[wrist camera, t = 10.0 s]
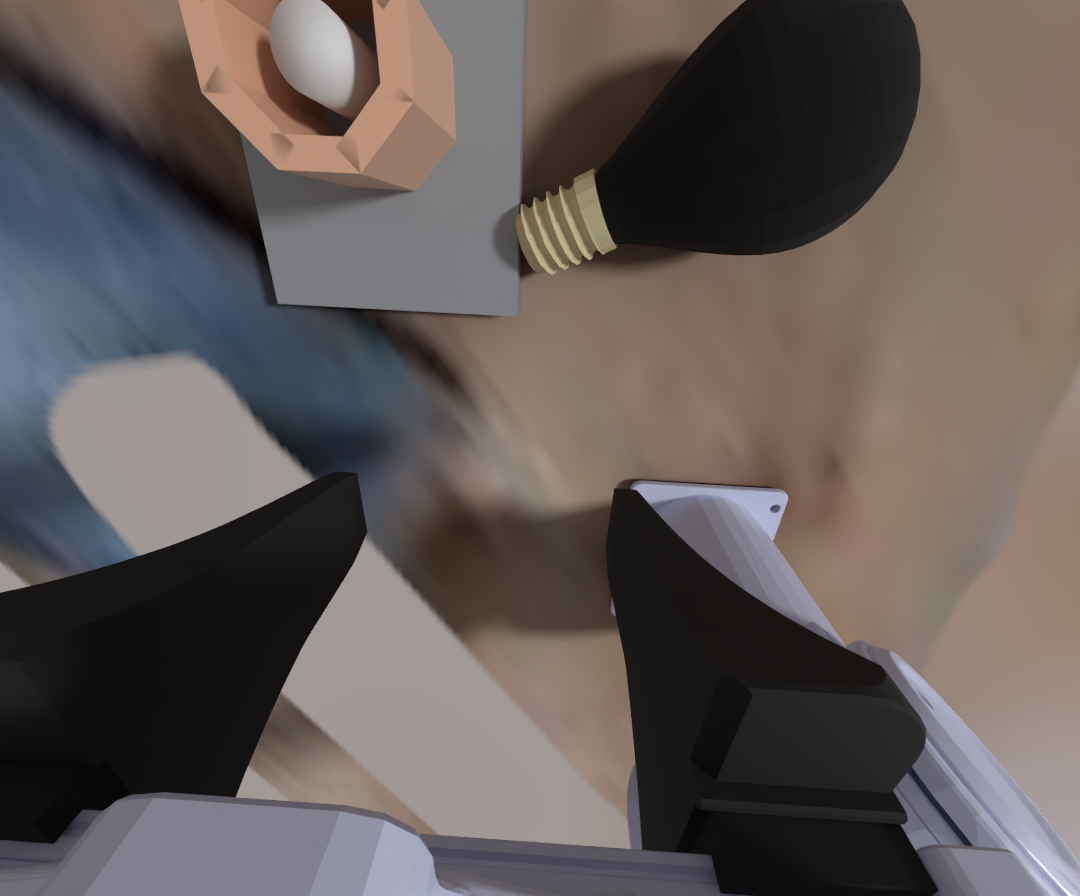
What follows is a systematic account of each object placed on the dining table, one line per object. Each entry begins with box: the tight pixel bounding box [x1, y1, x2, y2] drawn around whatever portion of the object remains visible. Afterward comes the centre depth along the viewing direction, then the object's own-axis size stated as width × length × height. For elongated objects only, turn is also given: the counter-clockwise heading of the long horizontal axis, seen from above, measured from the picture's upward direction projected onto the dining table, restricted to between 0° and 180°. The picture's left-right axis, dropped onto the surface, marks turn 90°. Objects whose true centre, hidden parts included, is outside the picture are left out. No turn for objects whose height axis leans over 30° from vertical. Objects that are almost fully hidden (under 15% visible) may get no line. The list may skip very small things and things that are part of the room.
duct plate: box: [240, 0, 526, 317], centre depth 13 cm, size 14×10×5 cm
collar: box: [179, 0, 456, 191], centre depth 12 cm, size 6×5×5 cm
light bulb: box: [516, 0, 921, 275], centre depth 14 cm, size 7×7×12 cm
